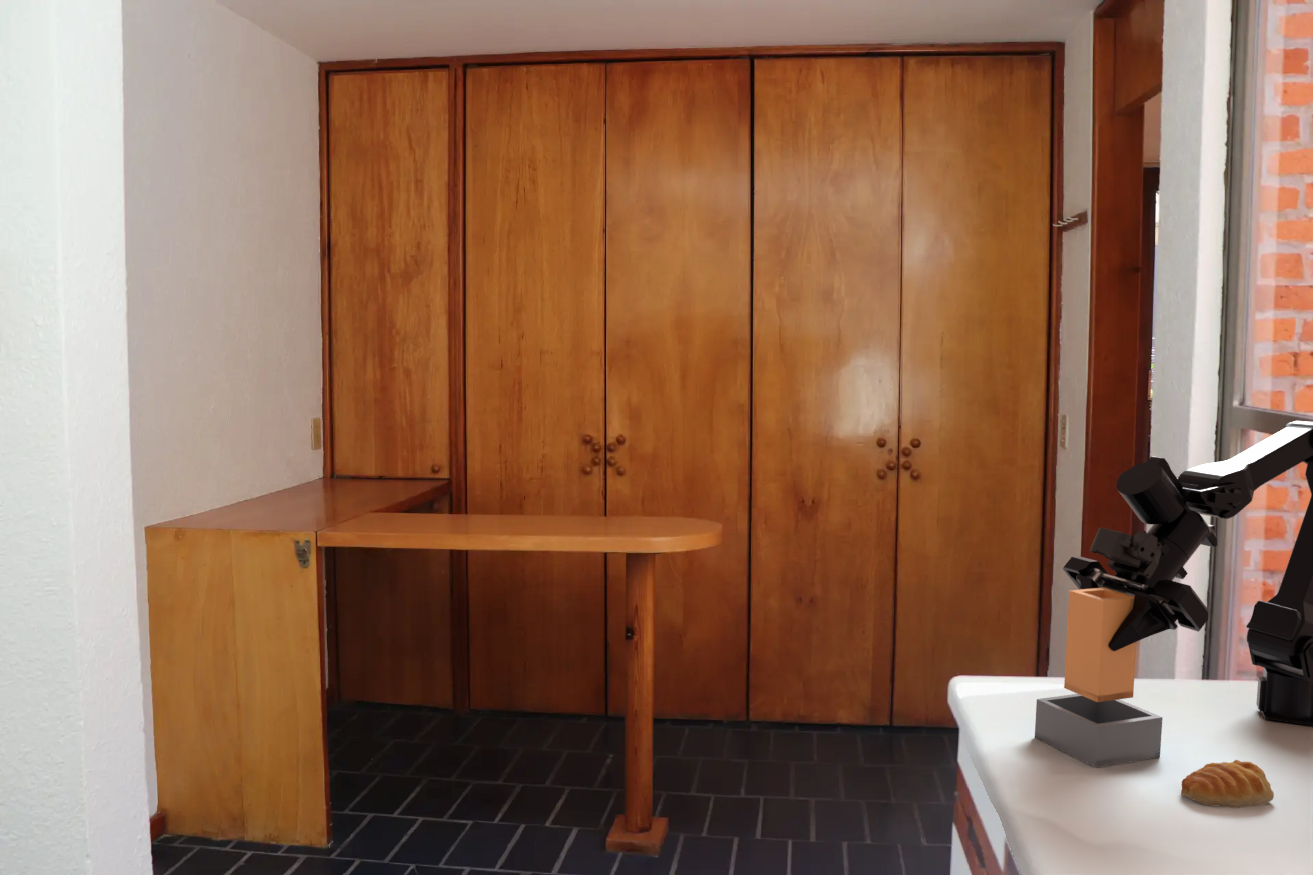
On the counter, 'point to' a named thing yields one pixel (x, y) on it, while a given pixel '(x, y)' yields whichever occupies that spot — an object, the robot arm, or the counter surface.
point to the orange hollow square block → (1098, 645)
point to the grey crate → (1098, 729)
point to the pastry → (1228, 785)
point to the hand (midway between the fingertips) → (1092, 641)
